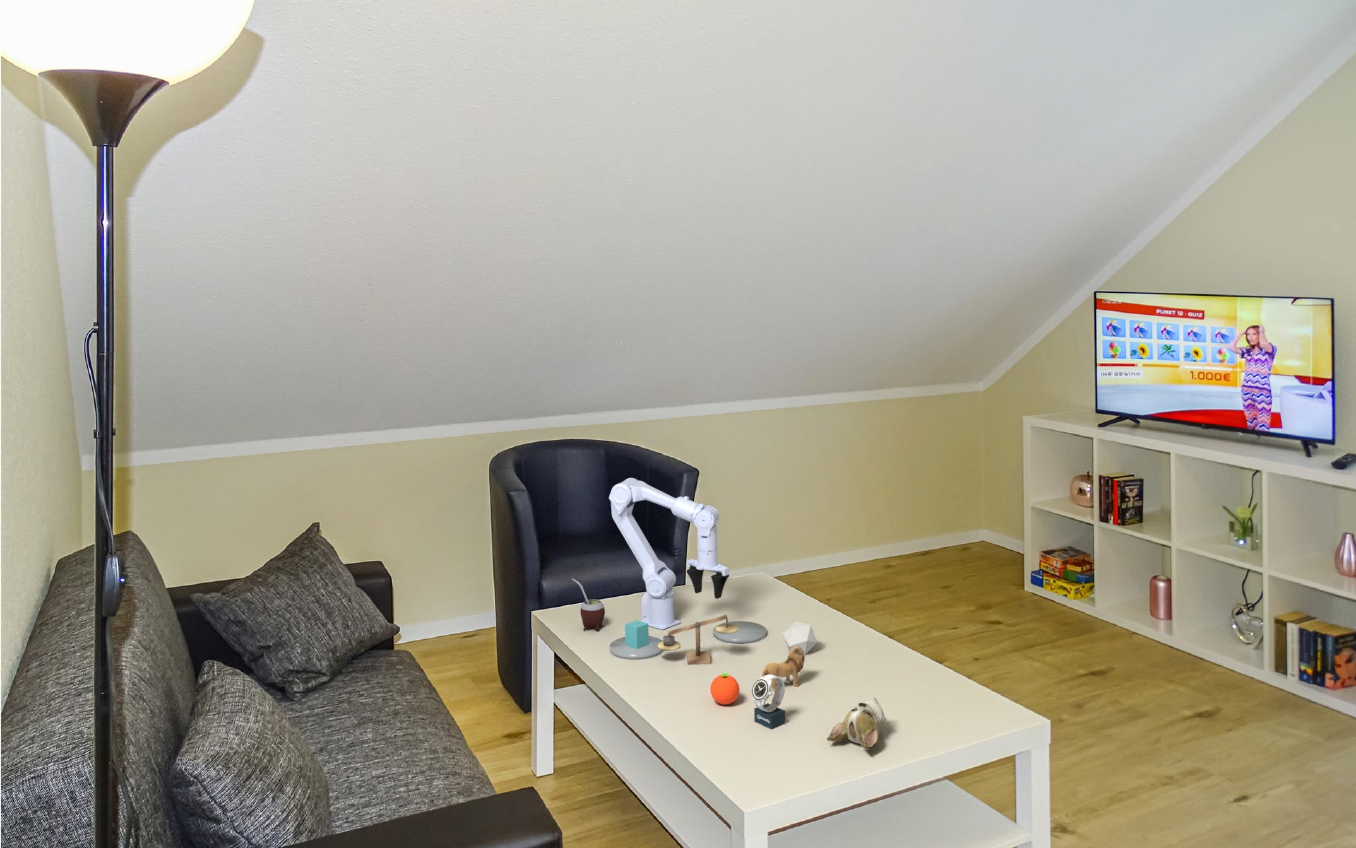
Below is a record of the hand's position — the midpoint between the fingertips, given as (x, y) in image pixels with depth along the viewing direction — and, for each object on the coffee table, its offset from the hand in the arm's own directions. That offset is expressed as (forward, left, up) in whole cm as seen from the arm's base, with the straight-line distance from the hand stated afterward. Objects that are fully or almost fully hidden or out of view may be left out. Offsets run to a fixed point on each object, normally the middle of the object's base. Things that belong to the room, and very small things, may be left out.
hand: (708, 595), depth 292 cm
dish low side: (-4, -25, -10) cm, 27 cm away
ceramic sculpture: (+73, -32, -10) cm, 80 cm away
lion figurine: (+42, -20, -10) cm, 47 cm away
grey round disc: (+10, +2, -10) cm, 14 cm away
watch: (+52, -38, -10) cm, 65 cm away
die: (+31, +2, -10) cm, 33 cm away
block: (-4, -25, -9) cm, 27 cm away
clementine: (+37, -36, -10) cm, 53 cm away
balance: (+14, -20, -10) cm, 26 cm away
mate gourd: (-26, -22, -10) cm, 36 cm away
